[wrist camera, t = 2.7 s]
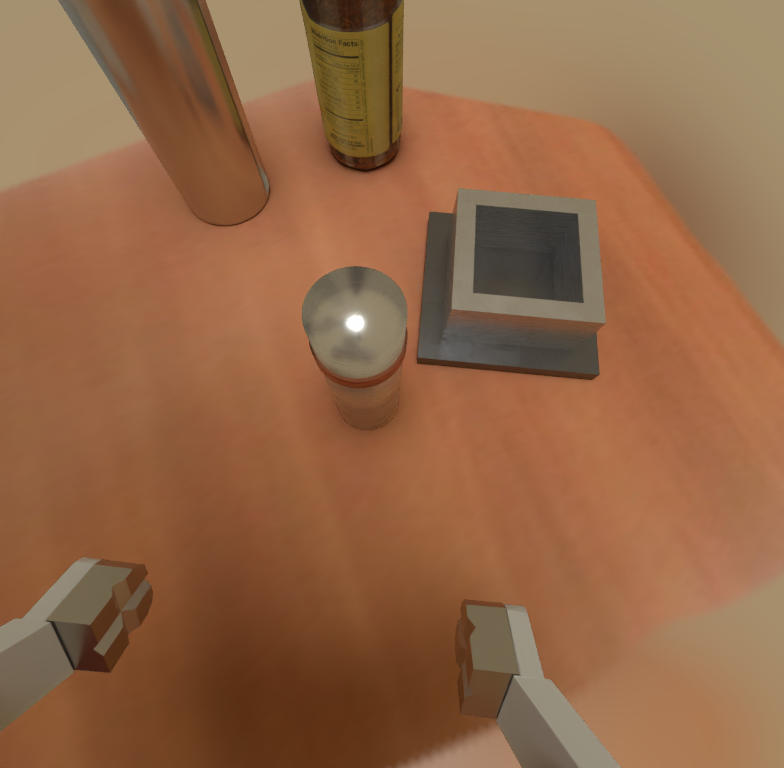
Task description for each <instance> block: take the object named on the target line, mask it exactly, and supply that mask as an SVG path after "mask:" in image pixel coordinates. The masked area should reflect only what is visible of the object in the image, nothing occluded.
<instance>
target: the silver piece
mask: <svg viewBox="0 0 784 768" xmlns="http://www.w3.org/2000/svg"><path fill="white" fill-rule="evenodd" d="M58 1H59V2H60V4H61V6H62V7H63V9H64V10H65V12H66V13H67V15H68V17H69V18H70V19H71V21H72V23H73V25H74V26H75V28H76V29H77V31H78V32H79V34H80V36H81V37H82V39H83V40H84V42H85V43H86V45H87V46H88V48H89V50H90V51H91V53H92V54H93V56H94V58H95V59H96V61H97V62H98V64H99V66H100V67H101V69H102V70H103V72H104V73H105V75H106V77H107V78H108V80H109V81H110V83H111V84H112V86H113V88H114V89H115V91H116V92H117V94H118V96H119V97H120V99H121V100H122V102H123V103H124V105H125V107H126V108H127V110H128V111H129V113H130V114H131V116H132V117H133V119H134V121H135V122H136V124H137V126H138V127H139V129H140V130H141V132H142V133H143V135H144V137H145V138H146V140H147V141H148V143H149V145H150V146H151V148H152V149H153V151H154V152H155V154H156V156H157V157H158V159H159V160H160V162H161V163H162V165H163V167H164V168H165V170H166V171H167V173H168V175H169V176H170V178H171V179H172V181H173V182H174V184H175V186H176V187H177V189H178V190H179V192H180V193H181V195H182V197H183V198H184V200H185V201H186V203H187V205H188V206H189V208H190V209H191V211H192V212H193V213H194V214H195V215H196V216H197V217H198V218H200V219H202V220H203V221H205V222H207V223H211V224H215V225H233V224H238V223H241V222H243V221H246V220H248V219H250V218H252V217H253V216H255V215H256V214H257V213H258V212H259V211H260V210H261V209H262V208H263V207H264V206H265V204H266V202H267V200H268V197H269V191H270V187H269V181H268V178H267V175H266V172H265V170H264V167H263V164H262V161H261V158H260V155H259V152H258V149H257V147H256V144H255V141H254V138H253V135H252V132H251V129H250V126H249V124H248V121H247V118H246V115H245V112H244V109H243V106H242V104H241V101H240V98H239V95H238V92H237V89H236V86H235V84H234V81H233V78H232V75H231V72H230V69H229V66H228V63H227V61H226V58H225V55H224V52H223V49H222V46H221V43H220V40H219V38H218V35H217V32H216V29H215V26H214V24H213V21H212V18H211V15H210V12H209V9H208V6H207V3H206V0H58Z"/></svg>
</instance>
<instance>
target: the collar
mask: <svg viewBox="0 0 784 768" xmlns="http://www.w3.org/2000/svg"><path fill="white" fill-rule="evenodd" d="M605 324H606V320H605V308H604V296H603V283H602V271H601V259H600V247H599V235H598V223H597V211H596V200H587V199H575V198H564V197H552V196H541V195H530V194H518V193H507V192H495V191H484V190H472V189H461V188H458V192H457V196H456V201H455V205H454V210H453V214H450V213H439V212H430V213H429V220H428V232H427V244H426V256H425V268H424V280H423V292H422V304H421V316H420V328H419V340H418V352H417V363H421V364H432V365H442V366H453V367H463V368H474V369H484V370H495V371H505V372H516V373H526V374H537V375H547V376H558V377H568V378H578V379H589V380H592V379H594V378H595V377H597V376H598V375H599V362H598V348H597V335H596V332H597V331H598V330H599V329H600V328H601V327H602V326H603V325H605Z"/></svg>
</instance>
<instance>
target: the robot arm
mask: <svg viewBox="0 0 784 768" xmlns="http://www.w3.org/2000/svg"><path fill="white" fill-rule="evenodd" d="M147 574H148V573H147V570H146V567H145V565H143V564H135V563H127V562H119V561H111V560H104V559H96V558H87V557H82V558H81V559H79V560H77V561H76V562H74V563H73V564H72V565H71V566H70V567H69V568H68V570H67V571H66V572H65V573H64V574H63V575H62V576H61V577H60V578H59V579H58V580H57V581H56V582H55V584H54V585H53V586H52V587H51V588H50V589H49V590H48V591H47V592H46V593H45V594H44V595H43V596H42V597H41V599H40V600H39V601H38V602H37V603H36V604H35V605H34V606H33V607H32V608H31V609H30V610H29V611H28V613H27V614H26V615H25V616H24V617H23V618H15V619H13V620H11V621H10V622H8V623H6V624H4V625H2V626H1V627H0V732H1V731H2V730H3V729H4V728H6V727H7V726H8V725H9V724H11V723H12V722H13V721H14V720H16V719H17V718H18V717H19V716H21V715H22V714H23V713H24V712H25V711H27V710H28V709H29V708H30V707H32V706H33V705H34V704H35V703H37V702H38V701H39V700H40V699H42V698H43V697H44V696H45V695H47V694H48V693H49V692H50V691H51V690H53V689H54V688H55V687H56V686H58V685H59V684H60V683H61V682H63V681H64V680H65V679H66V678H68V677H69V676H70V675H71V674H73V673H74V670H83V671H95V672H106V673H110V672H111V671H112V669H113V668H114V666H115V664H116V663H117V661H118V660H119V658H120V657H121V655H122V654H123V652H124V650H125V649H126V647H127V646H128V644H129V633H130V632H132V631H133V630H135V629H136V628H138V627H139V626H140V625H141V624H142V622H143V621H144V619H145V617H146V616H147V614H148V612H149V609H150V606H151V603H152V598H153V591H152V587H151V585H150V584H149V583H148V582H147V581H146V580H144V578H145V577H146V575H147ZM455 653H456V662H457V664H458V665H459V667H460V668H461V670H460V674H459V678H458V693H459V705H460V714H464V715H471V716H478V717H485V718H491V719H497V721H496V722H497V724H498V725H499V727H500V729H501V731H502V733H503V734H504V736H505V738H506V740H507V742H508V743H509V745H510V747H511V749H512V751H513V752H514V754H515V756H516V758H517V759H518V761H519V763H520V765H521V767H522V768H621V767H620V766H619V764H618V763H617V762H616V761H615V760H614V758H613V757H612V756H611V754H610V753H609V752H608V751H607V749H606V748H605V747H604V746H603V744H602V743H601V742H600V741H599V739H598V738H597V737H596V736H595V734H594V733H593V732H592V730H591V729H590V728H589V727H588V726H587V724H586V723H585V722H584V720H583V719H582V718H581V717H580V715H579V714H578V713H577V712H576V710H575V709H574V708H573V707H572V705H571V704H570V703H569V702H568V700H567V699H566V698H565V697H564V695H563V694H562V693H561V692H560V690H559V689H558V688H557V686H556V685H555V684H554V683H553V681H552V680H551V679H545V678H544V674H543V671H542V667H541V663H540V659H539V655H538V651H537V647H536V644H535V640H534V636H533V632H532V628H531V624H530V620H529V616H528V613H527V610H526V609H525V607H524V606H520V605H509V604H502V603H496V602H485V601H474V600H463V602H462V605H461V618H460V619H458V621H457V626H456V635H455Z"/></svg>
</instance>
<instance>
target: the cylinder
mask: <svg viewBox="0 0 784 768" xmlns="http://www.w3.org/2000/svg"><path fill="white" fill-rule="evenodd" d="M302 321H303V326H304V329H305V332H306V334H307V336H308V339H309V344H310V348H311V351H312V354H313V356H314V359H315V361H316V363H317V365H318V367H319V368H320V370H321V371H322V372H323V374H324V376H325V378H326V381H327V383H328V385H329V388H330V390H331V392H332V395H333V397H334V399H335V402H336V404H337V406H338V409H339V411H340V413H341V415H342V417H343V418H344V420H345V421H346V422H347V423H348V424H350V425H351V426H353V427H355V428H357V429H361V430H374V429H378V428H381V427H382V426H384V425H386V424H387V423H388V422H389V421H390V420H391V419H392V418H393V416H394V415H395V413H396V411H397V407H398V400H399V390H400V381H401V371H402V362H403V360H404V356H405V352H406V345H407V327H406V324H407V304H406V300H405V297H404V295H403V293H402V291H401V289H400V288H399V286H398V285H397V284H396V283H395V282H394V281H393V280H392V279H391V278H390V277H388V276H387V275H385V274H383V273H382V272H380V271H377V270H375V269H371V268H367V267H357V266H353V267H345V268H340V269H337V270H334V271H332V272H330V273H328V274H326V275H324V276H323V277H322V278H320V279H319V280H318V281H317V282H316V283H315V284H314V285H313V286H312V287H311V288H310V290H309V291H308V293H307V295H306V297H305V300H304V303H303V307H302Z"/></svg>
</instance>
